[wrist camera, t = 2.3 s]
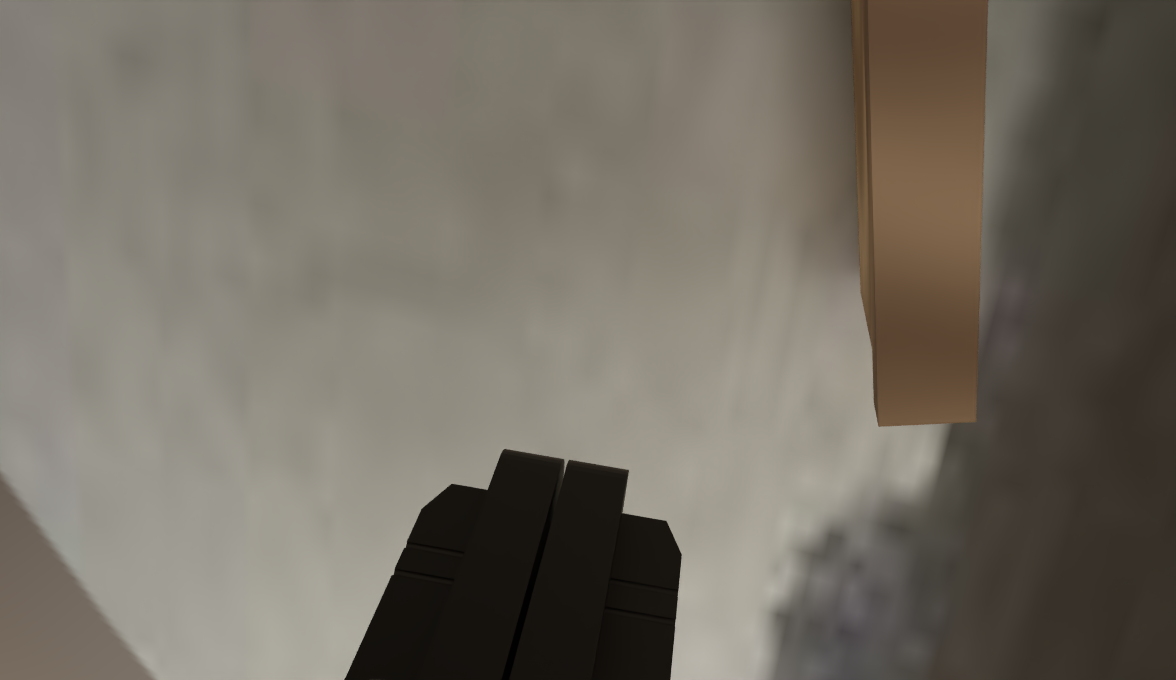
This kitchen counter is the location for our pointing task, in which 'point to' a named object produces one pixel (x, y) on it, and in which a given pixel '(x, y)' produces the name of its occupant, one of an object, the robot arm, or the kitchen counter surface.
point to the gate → (920, 201)
